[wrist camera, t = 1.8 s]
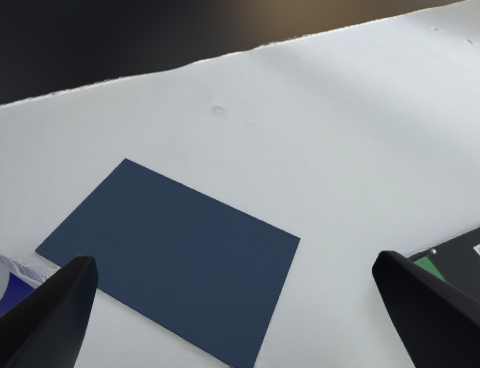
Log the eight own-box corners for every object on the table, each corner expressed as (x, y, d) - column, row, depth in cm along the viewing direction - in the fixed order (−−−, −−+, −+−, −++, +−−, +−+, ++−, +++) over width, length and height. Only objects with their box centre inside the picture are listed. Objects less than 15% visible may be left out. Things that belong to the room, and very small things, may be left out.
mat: (249, 376, 19) (249, 376, 19) (36, 251, 23) (34, 250, 22) (299, 239, 25) (300, 238, 25) (126, 159, 29) (125, 158, 29)
